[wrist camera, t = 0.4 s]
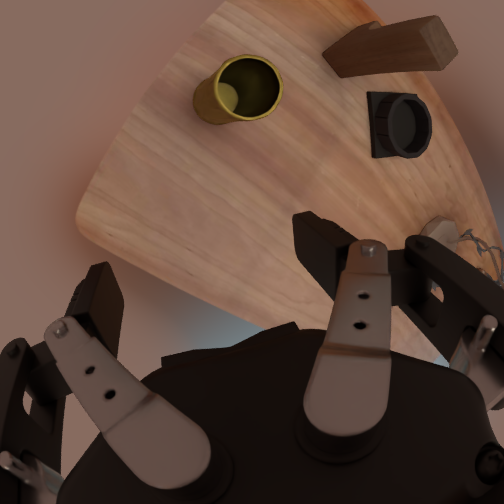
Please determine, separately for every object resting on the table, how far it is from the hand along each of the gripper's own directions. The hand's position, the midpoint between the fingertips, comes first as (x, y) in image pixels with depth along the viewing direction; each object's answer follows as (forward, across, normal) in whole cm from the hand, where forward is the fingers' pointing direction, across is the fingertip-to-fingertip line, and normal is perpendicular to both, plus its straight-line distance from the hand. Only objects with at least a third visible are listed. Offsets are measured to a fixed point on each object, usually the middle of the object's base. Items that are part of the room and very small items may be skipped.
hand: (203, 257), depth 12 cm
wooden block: (+25, -25, -13) cm, 37 cm away
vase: (+25, -6, -7) cm, 26 cm away
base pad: (+24, -32, -2) cm, 40 cm away
